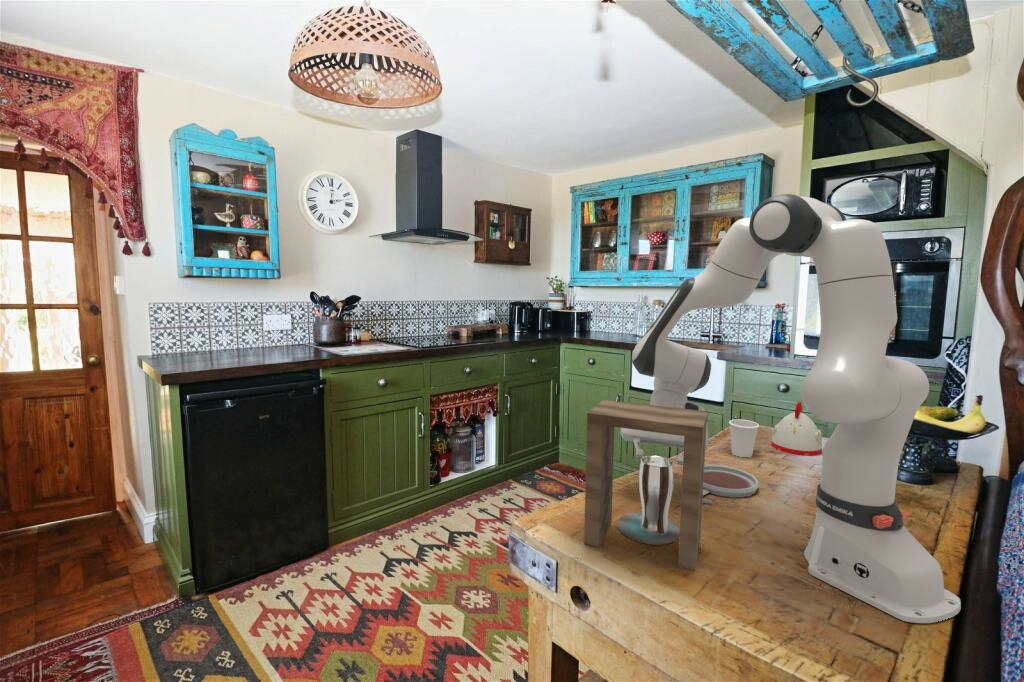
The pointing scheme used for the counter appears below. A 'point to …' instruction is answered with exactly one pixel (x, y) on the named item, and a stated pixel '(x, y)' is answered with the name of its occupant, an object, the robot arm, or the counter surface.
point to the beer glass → (655, 494)
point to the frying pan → (727, 482)
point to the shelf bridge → (601, 473)
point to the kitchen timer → (797, 435)
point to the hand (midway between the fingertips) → (659, 460)
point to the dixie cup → (743, 437)
